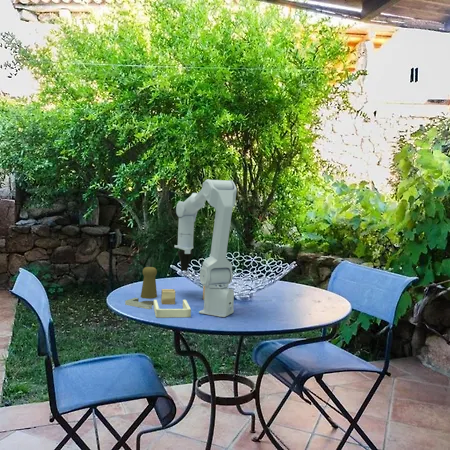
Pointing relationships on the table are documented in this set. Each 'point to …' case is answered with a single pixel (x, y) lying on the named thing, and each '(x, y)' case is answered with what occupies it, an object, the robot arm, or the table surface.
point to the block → (168, 296)
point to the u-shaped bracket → (172, 311)
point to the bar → (138, 303)
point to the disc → (148, 302)
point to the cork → (149, 283)
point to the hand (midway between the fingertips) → (184, 270)
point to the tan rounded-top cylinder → (203, 292)
